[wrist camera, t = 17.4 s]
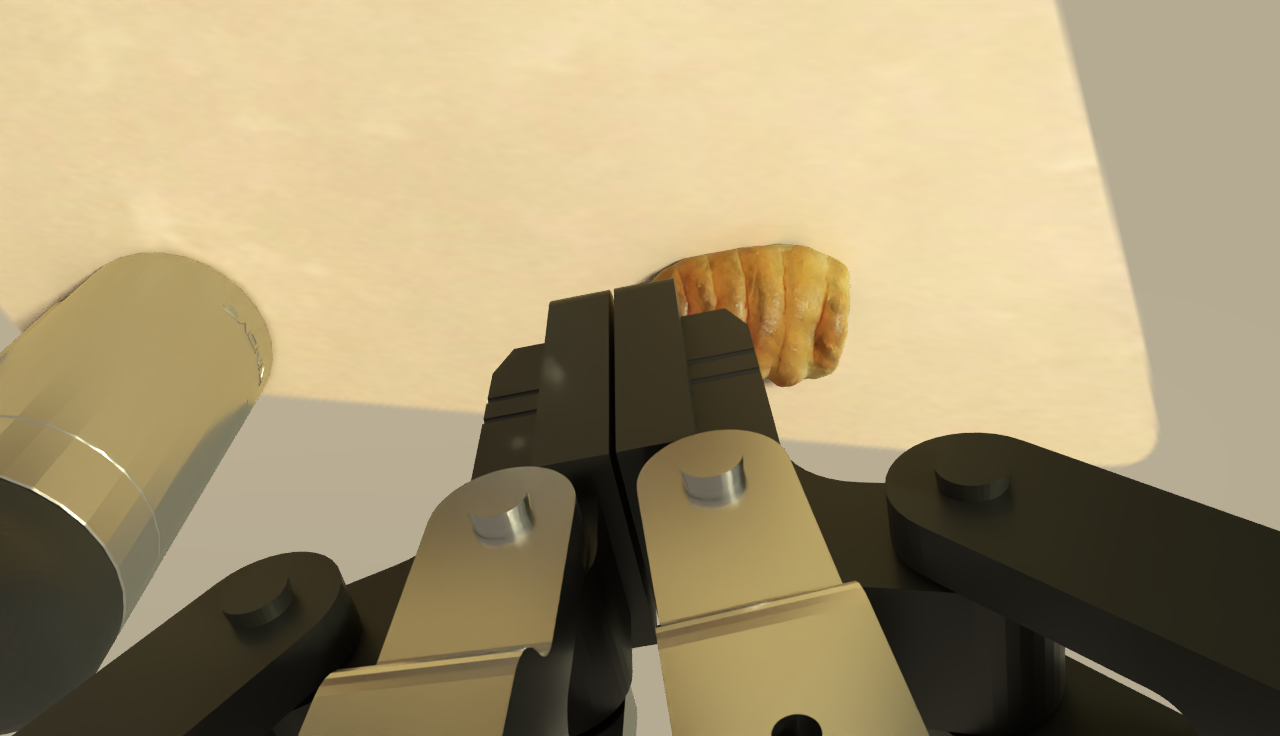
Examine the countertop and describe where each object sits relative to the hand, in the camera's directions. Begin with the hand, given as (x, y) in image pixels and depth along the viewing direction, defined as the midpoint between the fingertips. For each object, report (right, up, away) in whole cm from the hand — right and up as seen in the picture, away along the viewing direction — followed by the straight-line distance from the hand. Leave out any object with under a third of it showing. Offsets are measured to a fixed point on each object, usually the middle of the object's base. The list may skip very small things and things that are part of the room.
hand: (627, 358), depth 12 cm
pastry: (+6, +3, +37) cm, 37 cm away
